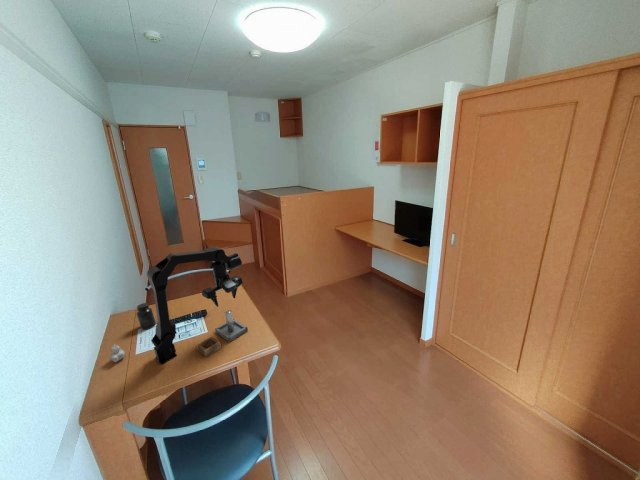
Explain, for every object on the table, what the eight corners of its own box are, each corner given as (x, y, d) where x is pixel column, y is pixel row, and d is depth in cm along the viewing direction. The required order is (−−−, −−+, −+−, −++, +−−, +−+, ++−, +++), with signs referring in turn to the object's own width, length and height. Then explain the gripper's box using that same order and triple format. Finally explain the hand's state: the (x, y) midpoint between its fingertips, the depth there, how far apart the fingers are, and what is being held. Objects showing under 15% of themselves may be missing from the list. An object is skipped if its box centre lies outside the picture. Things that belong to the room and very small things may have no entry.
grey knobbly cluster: (128, 353, 123) (123, 338, 120) (123, 363, 117) (117, 347, 114) (114, 356, 121) (108, 341, 119) (108, 367, 115) (102, 351, 113)
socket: (206, 357, 117) (204, 351, 116) (198, 350, 122) (196, 344, 121) (221, 348, 122) (220, 342, 121) (212, 341, 127) (211, 336, 126)
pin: (230, 333, 131) (227, 314, 127) (226, 330, 132) (223, 312, 129) (236, 329, 133) (233, 311, 130) (232, 327, 135) (229, 309, 132)
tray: (229, 342, 126) (228, 338, 125) (215, 332, 133) (214, 328, 133) (247, 330, 133) (247, 327, 132) (233, 322, 140) (232, 318, 140)
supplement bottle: (159, 321, 145) (153, 301, 141) (150, 330, 138) (144, 309, 134) (146, 321, 145) (140, 301, 141) (137, 329, 139) (130, 309, 135)
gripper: (210, 285, 118) (217, 317, 123) (247, 270, 132) (251, 298, 136) (198, 279, 125) (204, 309, 130) (233, 264, 138) (238, 292, 143)
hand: (226, 302), depth 135 cm, fingers open, 9 cm apart
